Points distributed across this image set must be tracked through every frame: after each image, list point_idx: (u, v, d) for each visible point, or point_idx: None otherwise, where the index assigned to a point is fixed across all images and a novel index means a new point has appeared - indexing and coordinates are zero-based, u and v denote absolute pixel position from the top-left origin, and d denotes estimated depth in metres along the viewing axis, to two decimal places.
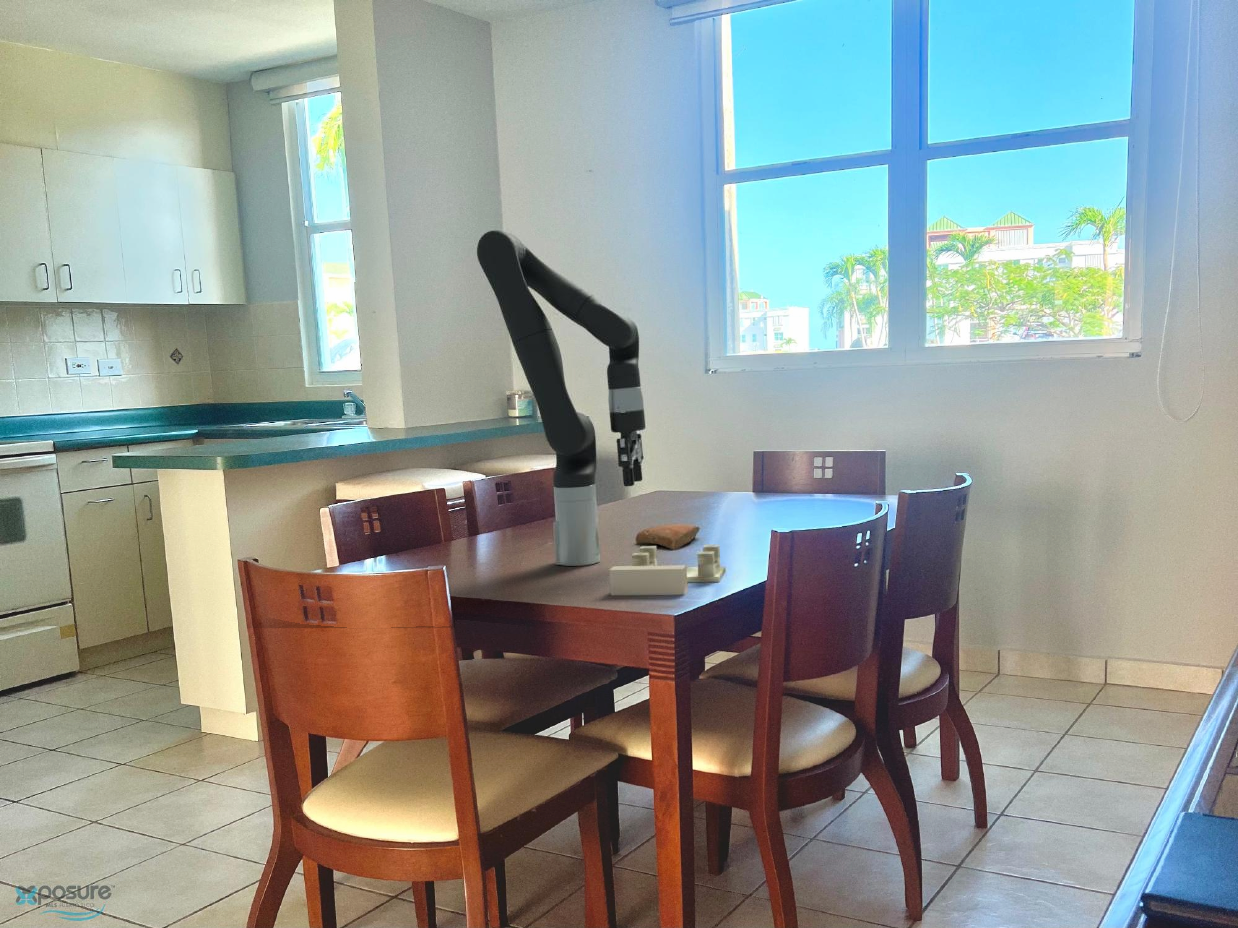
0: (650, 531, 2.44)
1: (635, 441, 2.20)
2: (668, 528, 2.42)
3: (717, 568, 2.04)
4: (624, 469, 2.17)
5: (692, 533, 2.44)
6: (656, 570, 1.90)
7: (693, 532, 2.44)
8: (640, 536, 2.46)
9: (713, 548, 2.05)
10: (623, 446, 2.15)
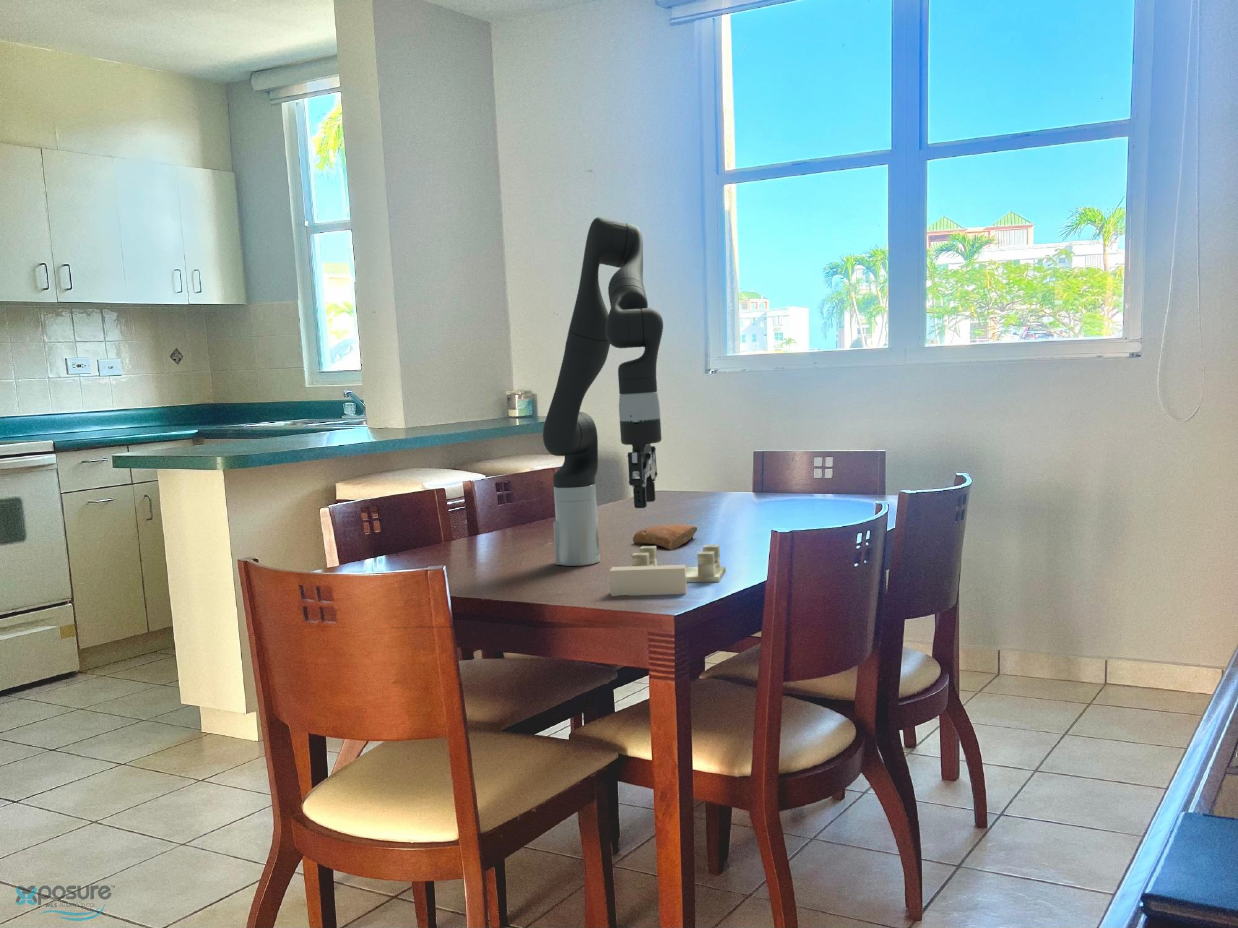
0: (647, 531, 2.44)
1: (649, 455, 1.88)
2: (665, 528, 2.42)
3: (717, 568, 2.04)
4: (635, 488, 1.85)
5: (689, 533, 2.44)
6: (657, 570, 1.90)
7: (690, 532, 2.44)
8: (638, 536, 2.46)
9: (713, 548, 2.05)
10: (635, 461, 1.83)
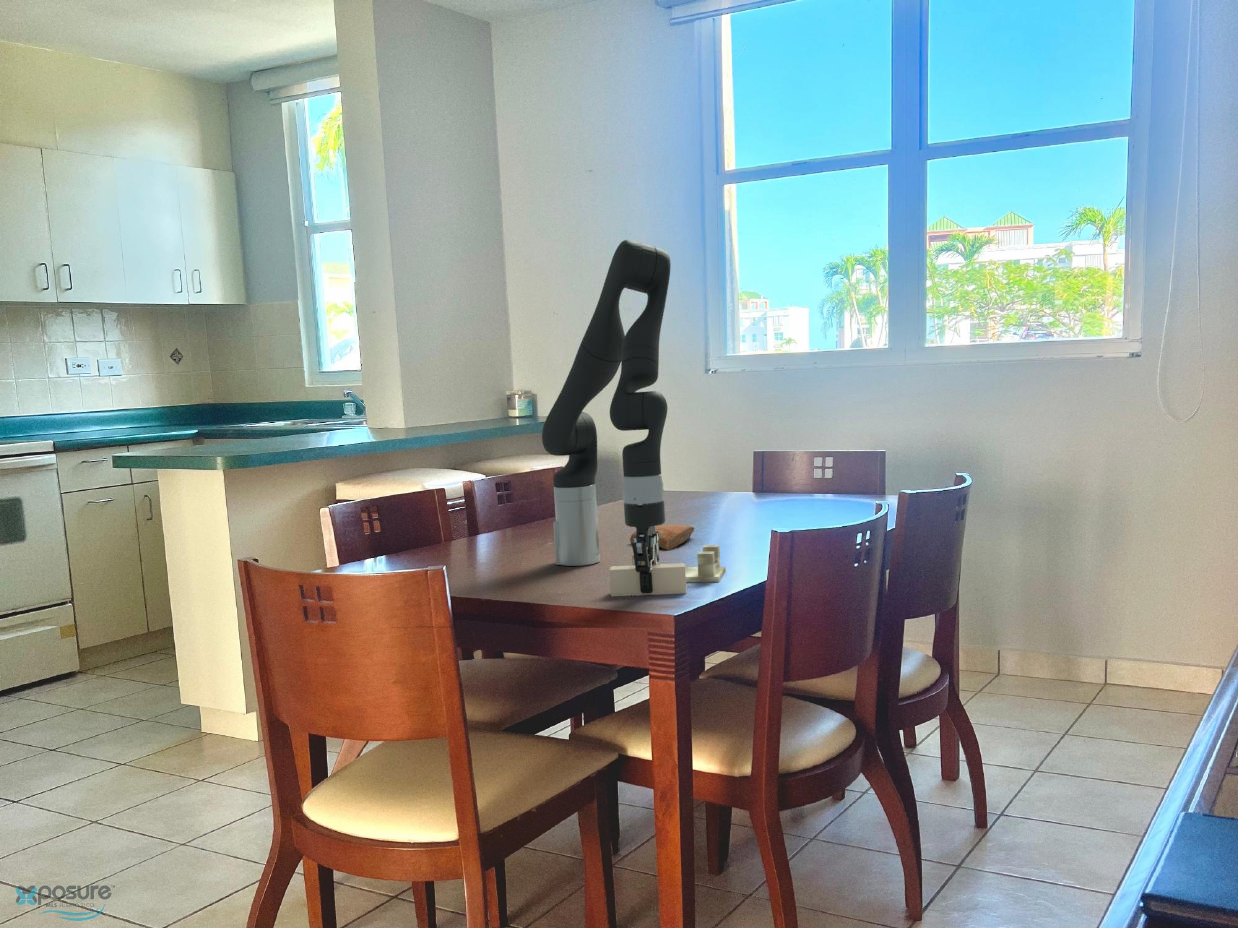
0: None
1: (653, 539, 1.89)
2: (662, 528, 2.42)
3: (717, 568, 2.04)
4: (642, 574, 1.89)
5: (686, 533, 2.44)
6: (657, 569, 1.90)
7: (687, 532, 2.44)
8: None
9: (713, 548, 2.05)
10: (640, 552, 1.85)
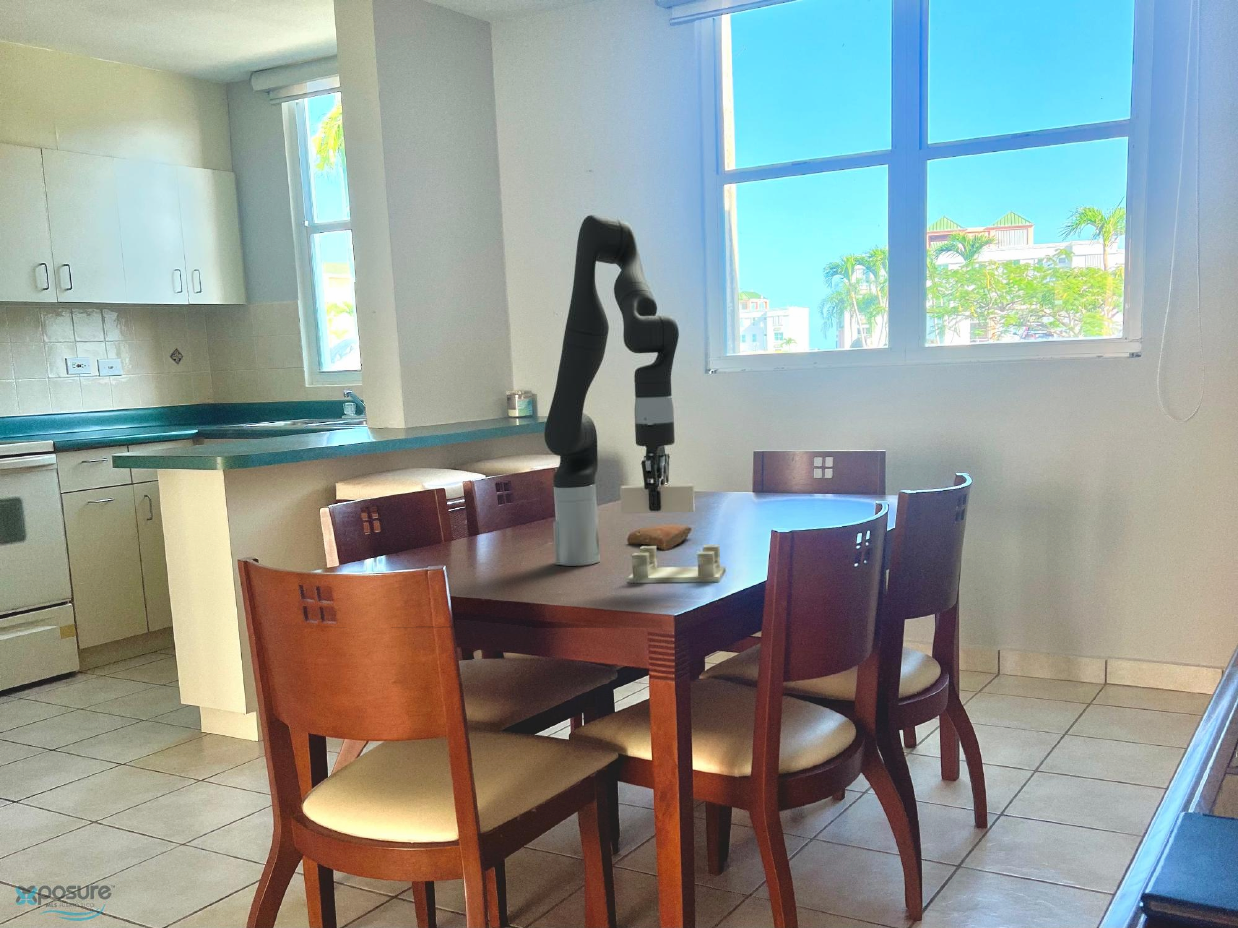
0: (641, 532, 2.44)
1: (662, 458, 1.96)
2: (659, 529, 2.42)
3: (717, 568, 2.04)
4: (650, 492, 1.95)
5: (683, 534, 2.44)
6: (666, 487, 1.96)
7: (684, 533, 2.44)
8: (632, 536, 2.46)
9: (713, 548, 2.05)
10: (649, 470, 1.92)
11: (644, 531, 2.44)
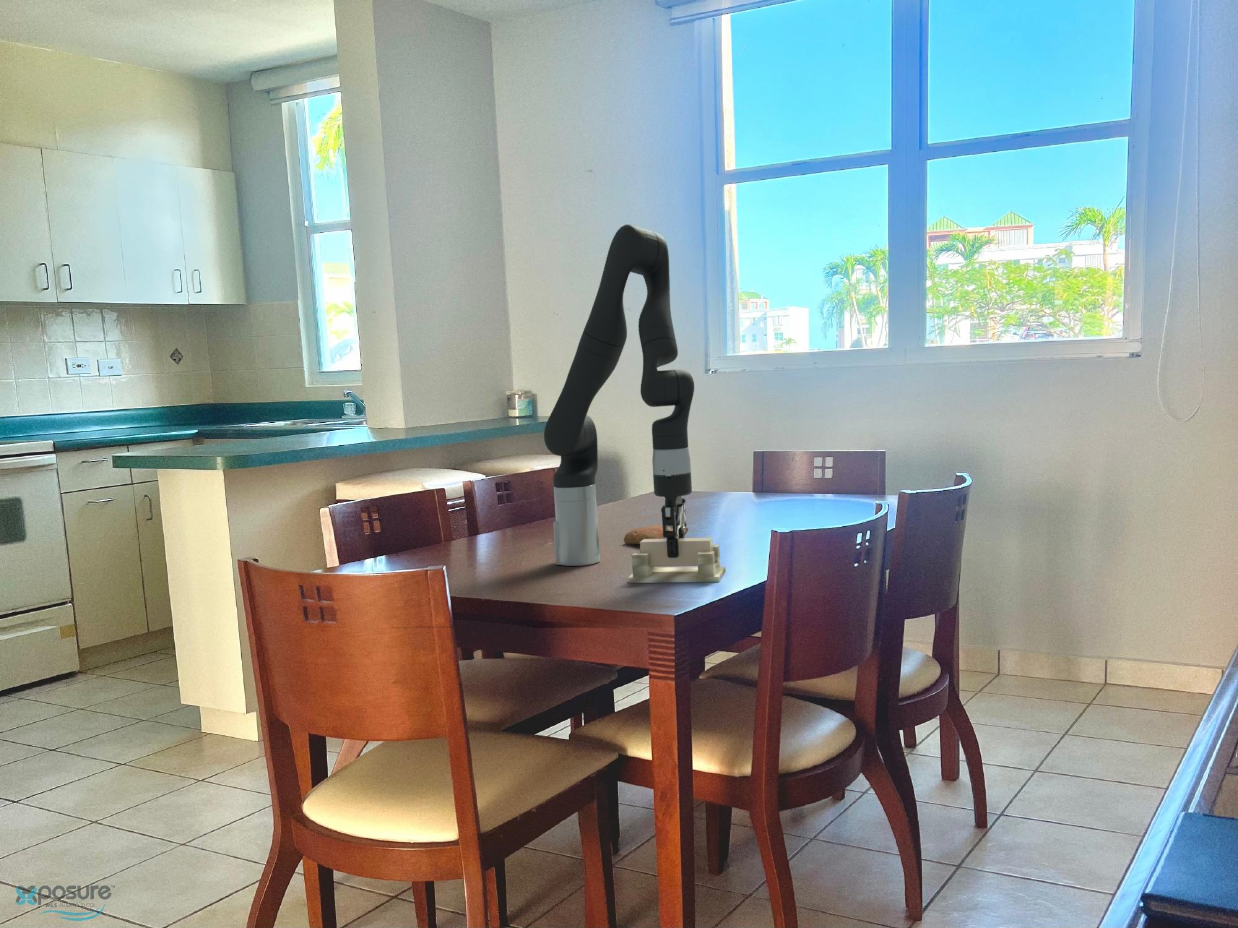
0: (638, 532, 2.44)
1: (680, 507, 2.02)
2: (656, 529, 2.42)
3: (717, 568, 2.04)
4: (669, 539, 2.00)
5: None
6: (684, 542, 2.02)
7: None
8: (628, 536, 2.46)
9: (713, 548, 2.05)
10: (668, 516, 1.97)
11: (641, 531, 2.44)
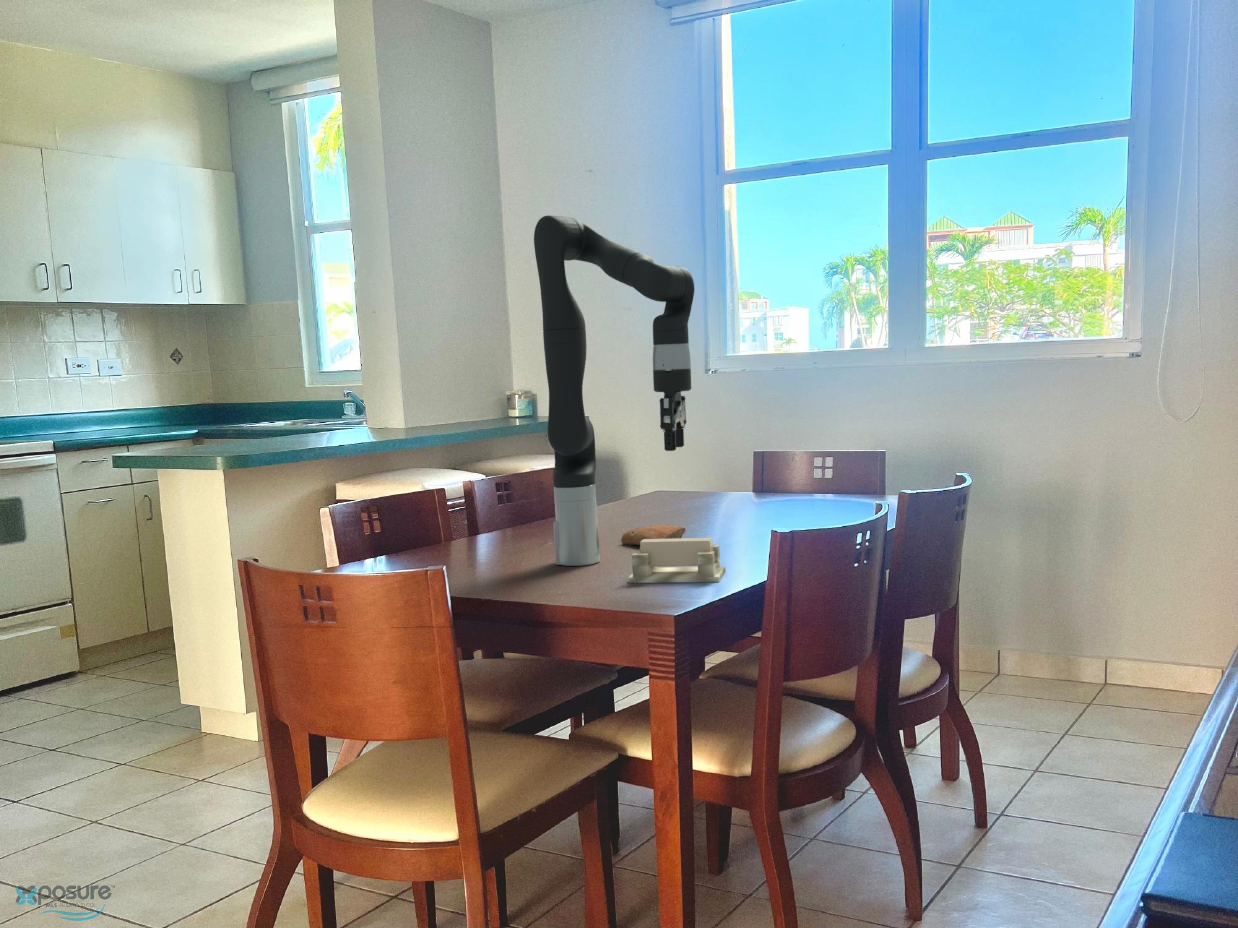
0: (635, 532, 2.44)
1: (679, 402, 2.02)
2: (653, 529, 2.42)
3: (717, 568, 2.04)
4: (666, 432, 2.00)
5: (677, 534, 2.44)
6: (684, 542, 2.02)
7: (678, 533, 2.44)
8: (626, 537, 2.46)
9: (713, 548, 2.05)
10: (667, 406, 1.98)
11: (638, 531, 2.44)
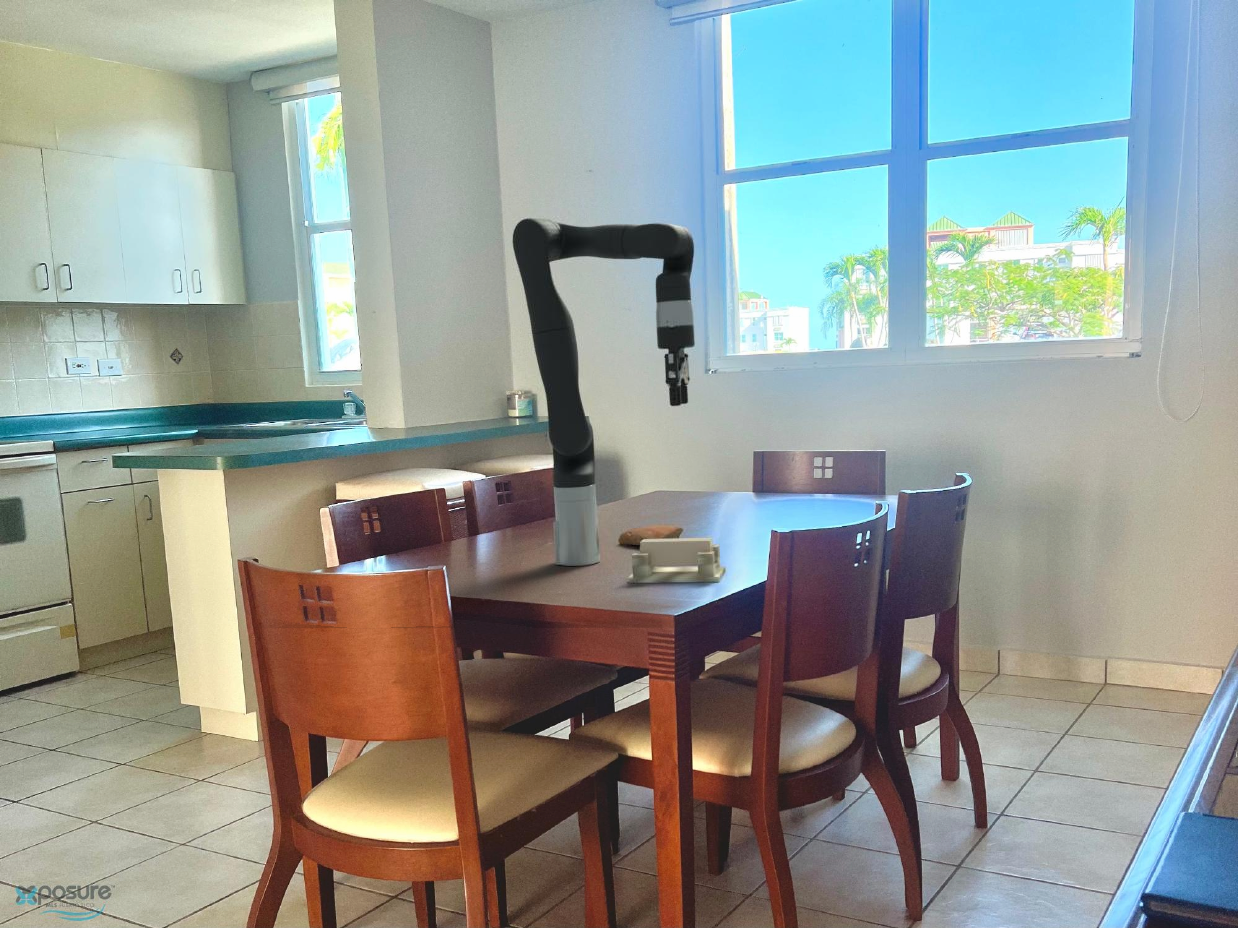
0: (633, 532, 2.44)
1: (683, 358, 2.06)
2: (650, 529, 2.42)
3: (717, 568, 2.04)
4: (671, 387, 2.03)
5: (675, 534, 2.44)
6: (684, 542, 2.02)
7: (676, 533, 2.44)
8: (623, 537, 2.46)
9: (713, 548, 2.05)
10: (671, 362, 2.01)
11: (635, 532, 2.44)
